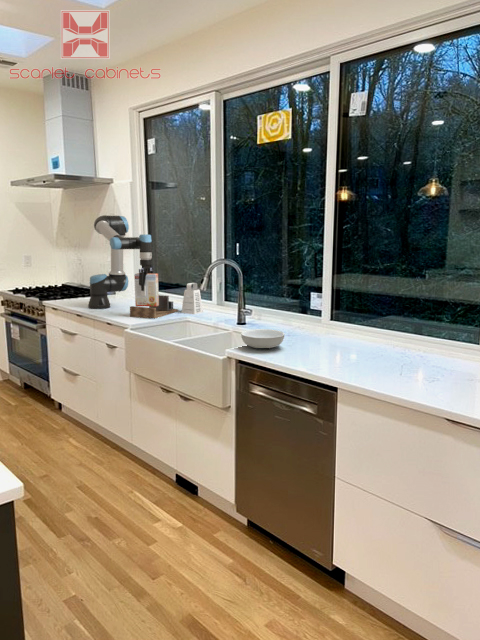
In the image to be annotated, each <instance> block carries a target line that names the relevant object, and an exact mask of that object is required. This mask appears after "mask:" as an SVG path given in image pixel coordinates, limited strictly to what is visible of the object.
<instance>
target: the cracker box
mask: <svg viewBox="0 0 480 640" xmlns="http://www.w3.org/2000/svg"><path fill="white" fill-rule="evenodd" d="M145 286H146V296H142V295H141V286H140V285H139V272H138V273H135V274H134V296H135V297H134V299H135V301H134V302H135V307H149V306H150V307H156V306H158V305H159V295H160V293H159V273H153V274H147V275H146V280H145Z"/></svg>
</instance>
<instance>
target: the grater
mask: <svg viewBox="0 0 480 640" xmlns="http://www.w3.org/2000/svg"><path fill="white" fill-rule="evenodd" d="M203 310H204V309H203V302H202V297H201V290H200V289H199V288H198V283H197V282H189V283H187V284H186V289H184V292H183V298H182V307H181V314H188V315H197V314H201V313H203V312H204V311H203Z"/></svg>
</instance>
